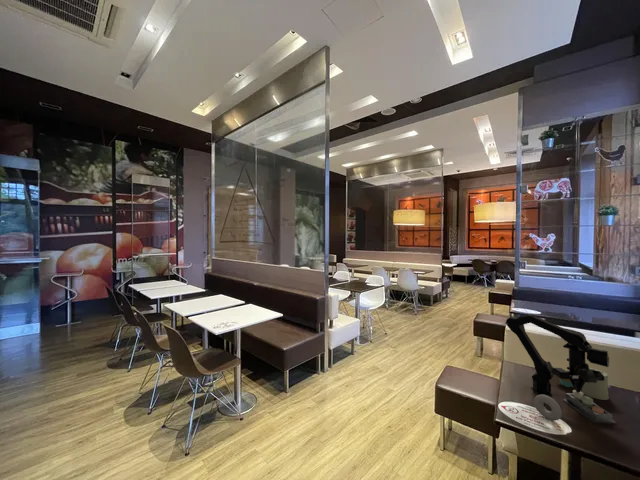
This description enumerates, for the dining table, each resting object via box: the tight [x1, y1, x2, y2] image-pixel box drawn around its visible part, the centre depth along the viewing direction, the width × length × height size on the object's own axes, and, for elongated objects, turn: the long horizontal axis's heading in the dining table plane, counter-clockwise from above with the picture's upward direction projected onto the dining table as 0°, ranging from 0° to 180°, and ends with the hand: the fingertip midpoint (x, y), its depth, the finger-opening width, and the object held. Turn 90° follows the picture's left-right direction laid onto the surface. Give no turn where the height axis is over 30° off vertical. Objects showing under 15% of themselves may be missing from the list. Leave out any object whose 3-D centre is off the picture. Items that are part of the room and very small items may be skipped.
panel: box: [562, 392, 617, 425], centre depth 120 cm, size 9×16×4 cm, turn 173°
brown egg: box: [592, 406, 605, 413], centre depth 115 cm, size 4×4×4 cm
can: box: [581, 367, 610, 401], centre depth 133 cm, size 9×9×12 cm
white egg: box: [572, 389, 584, 400], centre depth 125 cm, size 4×4×4 cm
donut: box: [533, 394, 563, 422], centre depth 116 cm, size 10×4×10 cm, turn 23°
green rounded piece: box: [582, 395, 594, 406], centre depth 120 cm, size 4×4×4 cm
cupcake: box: [556, 376, 574, 388], centre depth 142 cm, size 9×8×12 cm
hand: (577, 391), depth 125 cm, fingers closed
